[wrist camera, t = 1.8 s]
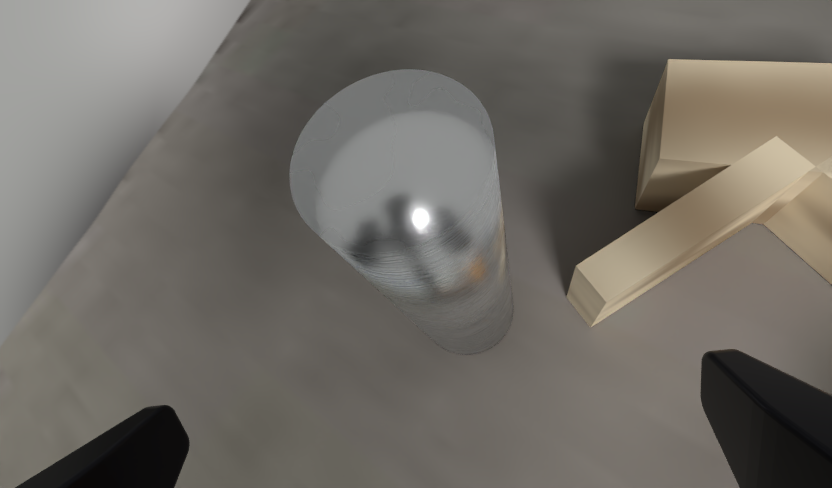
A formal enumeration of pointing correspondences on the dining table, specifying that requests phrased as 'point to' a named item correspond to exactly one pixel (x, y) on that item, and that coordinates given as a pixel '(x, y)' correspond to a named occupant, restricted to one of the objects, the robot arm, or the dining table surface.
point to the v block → (721, 174)
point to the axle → (412, 201)
